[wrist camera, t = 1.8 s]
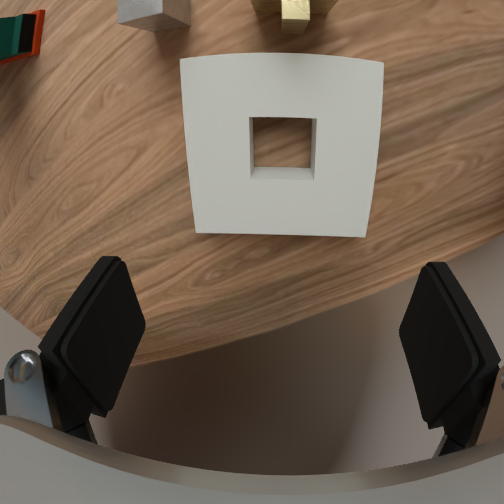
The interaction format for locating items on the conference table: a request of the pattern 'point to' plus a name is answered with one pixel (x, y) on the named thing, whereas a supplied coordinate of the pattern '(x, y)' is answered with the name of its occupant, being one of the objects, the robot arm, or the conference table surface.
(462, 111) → the conference table surface
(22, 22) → the power tool
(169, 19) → the square bar
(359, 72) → the socket block
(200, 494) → the robot arm
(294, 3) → the cross bar
